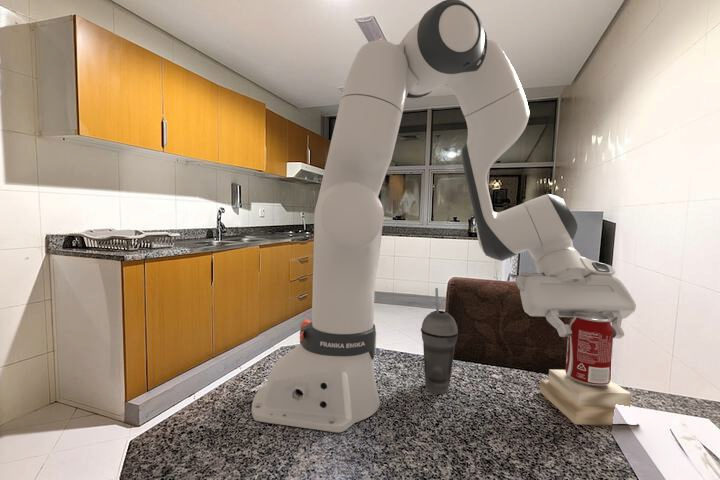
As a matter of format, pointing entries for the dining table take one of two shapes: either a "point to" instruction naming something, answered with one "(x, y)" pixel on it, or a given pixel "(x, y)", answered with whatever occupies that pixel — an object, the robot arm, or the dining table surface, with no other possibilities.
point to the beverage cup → (438, 348)
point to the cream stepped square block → (583, 399)
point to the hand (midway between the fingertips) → (592, 336)
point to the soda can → (589, 349)
